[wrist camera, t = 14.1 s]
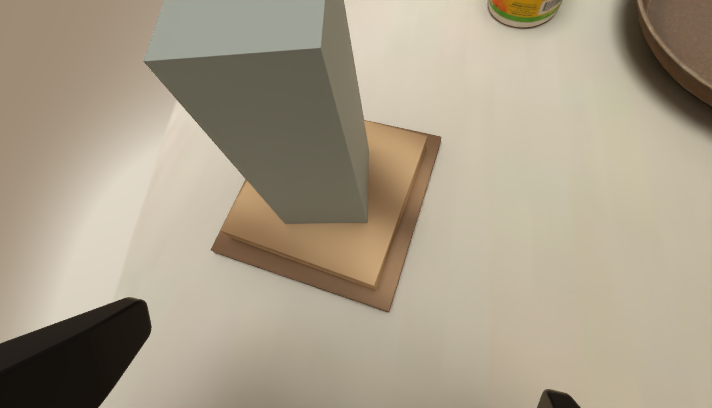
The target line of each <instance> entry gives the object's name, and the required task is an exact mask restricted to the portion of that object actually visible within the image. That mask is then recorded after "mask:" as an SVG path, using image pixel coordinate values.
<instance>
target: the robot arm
mask: <svg viewBox="0 0 712 408" xmlns="http://www.w3.org/2000/svg"><path fill="white" fill-rule="evenodd" d="M151 328H152V326H151V321H150V316H149V311H148V307H147V303H146V302H145V301H144V300H141V299H136V298H132V297H127V298H124V299H121V300H118V301H115V302H113V303H110V304H107V305H105V306H102V307H99V308H96V309H94V310H91V311H88V312H85V313H83V314H80V315H77V316H74V317H72V318H69V319H66V320H63V321H61V322H58V323H55V324H52V325H50V326H47V327H44V328H41V329H39V330H36V331H33V332H30V333H28V334H25V335H22V336H19V337H17V338H14V339H11V340H8V341H6V342H3V343H1V344H0V408H98V407H99V406H100V405H101V404H102V402H103V401H104V400H105V399H106V397H107V396H108V395H109V393H110V392H111V390H112V389H113V388H114V386H115V385H116V383H117V382H118V381H119V379H120V378H121V376H122V375H123V373H124V372H125V370H126V369H127V368H128V366H129V365H130V363H131V362H132V360H133V359H134V357H135V356H136V355H137V353H138V352H139V350H140V349H141V347H142V346H143V344H144V343H145V342H146V340H147V339H148V337H149V335H150V333H151ZM537 408H581V407H580V406H579V405H578V404H577V403H576V402H575V400H574V399H573V398H572V397H571V396H570V395H568V394H567V393H564V392H560V391H555V390H551V389H546V390H544V391H543V393H542V395H541V398H540V401H539V404H538V407H537Z"/></svg>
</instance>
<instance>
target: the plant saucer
mask: <svg viewBox="0 0 712 408" xmlns="http://www.w3.org/2000/svg"><path fill="white" fill-rule="evenodd" d="M636 8H637V13H638V18H639V22H640V26H641V29H642V32H643V34H644V36H645V39H646V41H647V43H648V45H649V47H650V49H651V50H652V52H653V54H654V55H655V57H656V58H657V60H658V61H659V62H660V64H661V65H662V66H663V68H664V69H665V70H666V71H667V72H668V73H669V74H670V75H671V76H672V77H673V78H674V79H675V80H676V81H677V82H678V83H679V84H680V85H681V86H683V87H684V88H685V89H686V90H688V91H689V92H690V93H692V94H693V95H695V96H696V97H697V98H699V99H700V100H702V101H703V102H705V103H707V104H708V105H710V106H712V0H636Z"/></svg>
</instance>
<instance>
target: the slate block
mask: <svg viewBox="0 0 712 408" xmlns="http://www.w3.org/2000/svg"><path fill="white" fill-rule="evenodd" d="M144 62H145V64H146V65H148V67H149V68H150V69H151V70H152V72H153V73H154V74H155V75H156V76H157V77H158V78H159V80H160V81H161V82H162V83H163V84H164V85H165V87H166V88H167V89H168V90H169V91H170V92H171V93H172V94H173V96H174V97H175V98H176V99H177V100H178V102H179V103H180V104H181V105H182V106H183V107H184V108H185V110H186V111H187V112H188V113H189V114H190V115H191V116H192V118H193V119H194V120H195V121H196V122H197V123H198V125H199V126H200V127H201V128H202V129H203V130H204V131H205V133H206V134H207V135H208V136H209V137H210V138H211V139H212V141H213V142H214V143H215V144H216V145H217V146H218V148H219V149H220V150H221V151H222V152H223V153H224V154H225V156H226V157H227V158H228V159H229V160H230V161H231V163H232V164H233V165H234V166H235V167H236V168H237V169H238V171H239V172H240V173H241V174H242V175H243V176H244V177H245V179H246V180H247V181H248V182H249V183H250V184H251V186H252V187H253V188H254V189H255V190H256V191H257V192H258V194H259V195H260V196H261V197H262V198H263V199H264V201H265V202H266V203H267V204H268V205H269V206H270V207H271V209H272V210H273V211H274V212H275V213H276V214H277V215H278V217H279V218H280V219H281V220H282V221H283V222H284V224H306V223H368V174H369V146H368V140H367V135H366V129H365V123H364V117H363V111H362V105H361V99H360V93H359V87H358V81H357V76H356V70H355V64H354V58H353V52H352V46H351V40H350V34H349V28H348V23H347V17H346V11H345V5H344V0H164V3H163V6H162V9H161V12H160V15H159V18H158V20H157V23H156V26H155V29H154V32H153V35H152V38H151V41H150V44H149V47H148V50H147V53H146V56H145V59H144Z"/></svg>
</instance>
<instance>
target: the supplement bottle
mask: <svg viewBox="0 0 712 408" xmlns="http://www.w3.org/2000/svg"><path fill="white" fill-rule="evenodd" d="M561 2H562V0H488V6H489V9H490V12H491V13H492V15H493V16H494V17H495V18H496V19H498V20H499V21H500V22H502V23H504V24H506V25H510V26H514V27H532V26H536V25H539V24H542V23H544V22H546V21H548V20H549V19H550V18H551V17H553V16H554V14H555V13H556V12H557V10H558V8H559V6H560V4H561Z"/></svg>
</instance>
